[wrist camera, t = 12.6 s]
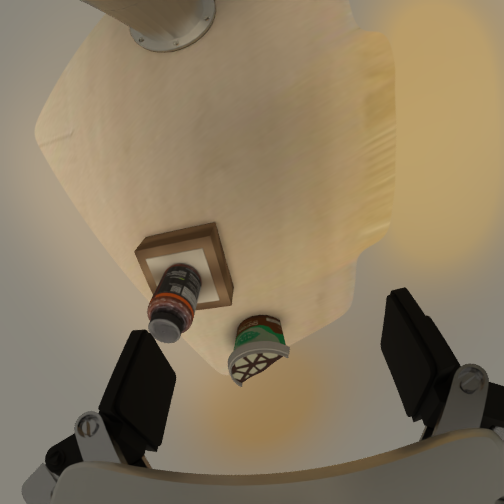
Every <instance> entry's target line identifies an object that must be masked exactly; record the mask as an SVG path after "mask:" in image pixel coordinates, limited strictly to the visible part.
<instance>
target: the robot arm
mask: <svg viewBox="0 0 504 504" xmlns="http://www.w3.org/2000/svg"><path fill="white" fill-rule="evenodd" d="M80 1H83V2H85V3H87V4H89V5H91V6H93V7H95V8H97V9H99V10H101V11H103V12H104V13H106V14H108V15H110V16H112V17H114V18H115V19H117V20H119V21H121V22H122V23H124V24H126V25H128V26H129V27H130V32H131V36H132V37H133V39H134V41H135V42H136V43H138V44H139V45H140V46H142V47H143V48H145V49H148V50H150V51H155V52H171V51H175V50H179V49H182V48H184V47H187V46H189V45H191V44H192V43H194V42H195V41H197V40H198V39H199V38H201V37H202V36H203V35H204V34H205V33H206V31H207V30H208V29H209V28H210V26H211V24H212V23H213V20H214V17H215V11H216V8H215V2H214V0H80ZM207 19H209V20H208V21H206V20H207ZM143 40H144V41H143ZM142 41H143V42H142ZM177 44H179V45H178V46H176V45H177ZM381 350H382V352H383V355H384V357H385V360H386V362H387V365H388V367H389V369H390V372H391V374H392V377H393V379H394V382H395V385H396V387H397V390H398V392H399V395H400V398H401V400H402V403H403V406H404V409H405V411H406V414H407V416H408V417H411V416H412V419H413V422H416V421H418V420H421V419H422V420H423V423H424V425H425V429H424V431H423V433H422V436H421V438H420V440H419V442H416V443H413V444H410V445H407V446H405V447H401V448H398V449H395V450H392V451H389V452H385V453H382V454H378V455H375V456H371V457H367V458H363V459H359V460H356V461H351V462H347V463H342V464H338V465H332V466H327V467H322V468H315V469H309V470H302V471H294V472H284V473H272V474H256V475H209V474H193V473H181V472H172V471H164V470H156V469H152V468H151V466H150V464H149V462H148V461H147V459H146V457H145V455H144V454H145V450H147V451H154V452H157V449H158V446H160V445H161V443H162V439H163V435H164V430H165V426H166V421H167V416H168V412H169V408H170V404H171V399H172V395H173V391H174V387H175V383H176V375H175V372H174V370H173V369H172V367H171V366H170V364H169V362H168V361H167V359H166V358H165V356H164V354H163V353H162V351H161V349H160V348H159V346H158V344H157V343H156V341H155V339H154V337H153V336H152V334H151V333H148V331H147V330H133V331H132V332H131V334H130V336H129V338H128V340H127V342H126V344H125V346H124V349H123V351H122V353H121V355H120V357H119V360H118V362H117V364H116V367H115V369H114V371H113V374H112V376H111V378H110V380H109V383H108V385H107V388H106V390H105V393H104V395H103V397H102V400H101V402H100V405H99V408H98V409H99V410H100V411H99V413H96V412H93V411H89V412H86V413H84V414H82V415H81V416H80V417H79V418H78V419H77V421H76V423H75V427H74V430H75V433H74V434H73V435H71V436H69V437H68V438H66V439H65V440H63V441H61V442H59V443H58V444H56V445H54V446H53V447H51V448H50V449H49V450H48V452H47V454H46V457H45V462H46V464H44V463H42V464H41V465H40V467H39V468H38V469H37V470H36V471H35V472H34V473H33V474H32V475H31V476H30V477H29V478H28V479H27V480H26V481H25V483H24V484H23V486H22V495H23V498H24V500H25V501H26V503H27V504H504V386H501V385H498V384H495V383H491V382H489V378H488V375H487V373H486V371H485V370H484V369H483V368H482V367H480V366H478V365H476V364H465V365H463V366H460V364H459V362H458V361H457V359H456V357H455V356H454V354H453V352H452V351H451V349H450V347H449V346H448V344H447V342H446V341H445V339H444V338H443V336H442V334H441V333H440V331H439V330H438V328H437V327H436V325H435V324H434V322H433V321H432V319H431V318H430V317H429V316H425V314H424V313H423V311H422V310H421V308H420V307H419V306H418V304H417V303H416V301H415V300H414V298H413V297H412V295H411V294H410V292H409V291H408V290H407V289H406V288H405V287H404V288H400V289H396V290H392V291H391V293H390V295H388V296H387V299H386V309H385V317H384V324H383V331H382V338H381Z"/></svg>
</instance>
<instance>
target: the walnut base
mask: <svg viewBox="0 0 504 504" xmlns="http://www.w3.org/2000/svg"><path fill="white" fill-rule="evenodd" d="M134 252H135V255H136V257H137V259H138V262H139V264H140V267H141V269H142V271H143V274H144V276H145V278H146V280H147V283H148V285H149V287H150V289H151V291H152V294H153V295H154V292H155V290H156V288H157V286H158V284H159V282H160V280H161V278H162V276H163V274H164V272H165V271H166V270H167V269H168V268H169V267H170V266H172V265H175V264H185V265H188V266H190V267H192V268H194V269H195V270H196V271H197V272H198V274H199V275H200V277H201V281H202V285H201V291H200V294H199V298H198V302H197V306H196V310H202V309H210V308H217V307H224V306H231V305H232V297H233V288H234V287H233V283H232V280H231V276H230V273H229V270H228V266H227V263H226V259H225V256H224V252H223V249H222V245H221V242H220V238H219V234H218V231H217V227H216V224H215V222H214V223H209V224H204V225H200V226H195V227H190V228H185V229H181V230H176V231H172V232H167V233H163V234H158V235H154V236H149V237H145V239H144V240H143V241H142V242H141V244H140V245H139V246H138V247H137V249H136V250H135V251H134Z"/></svg>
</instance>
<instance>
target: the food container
mask: <svg viewBox="0 0 504 504" xmlns="http://www.w3.org/2000/svg"><path fill="white" fill-rule="evenodd" d="M289 350H290V347H288V346H286V344H285V340H284V336H283V331H282V327H281V323H280V320H278V319H277V318H275V317H271V316H268V315H257V316H251V317H249V318H247V319H245V320H244V321H243V322H242V323H241V324H240V325H239V327H238V331H237V336H236V341H235V346H234V351H233V352H232V353H231V355H230V356H229V358H228V369H229V373H230V376H231V378H232V379H233V381H234V382H235V383H236V384H237V385H239V386H241V387H242V382H244V381H246V380H247V379H248V378H250V377H252V376H254V375H256V374H258V373H260V372H262V371H264V370H265V369H267V368H268V367H269V366H270V365H271V364H273V363H274V362H275V361H277V360H278V359H280V358H281V357H283V356H284V357H286V358H288V355H289Z"/></svg>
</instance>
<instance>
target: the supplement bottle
mask: <svg viewBox="0 0 504 504" xmlns="http://www.w3.org/2000/svg"><path fill="white" fill-rule="evenodd" d="M201 285H202V281H201V277H200V275H199V274H198V272H197V271H196V270H195V269H194V268H192V267H190V266H188V265H185V264H175V265H172V266H170V267H169V268H168V269H167V270H166V271H165V272H164V274H163V276H162V278H161V280H160V282H159V284H158V286H157V288H156V290H155V292H154V295H153V297H152V299H151V301H150V303H149V306H148V311H147V313H148V318H149V320H150V323H149V332H150V333H151V334H152V336H153V337H154V338H155V339H157V340H159V341H160V342H164V343H174V342H176V341H177V340H178V339H179V338H180V336H181V333H184V332H185V331H187V330H188V329H189V328H190V326H191V324H192V321H193V318H194V314H195V310H196V306H197V302H198V298H199V294H200V291H201Z"/></svg>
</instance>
